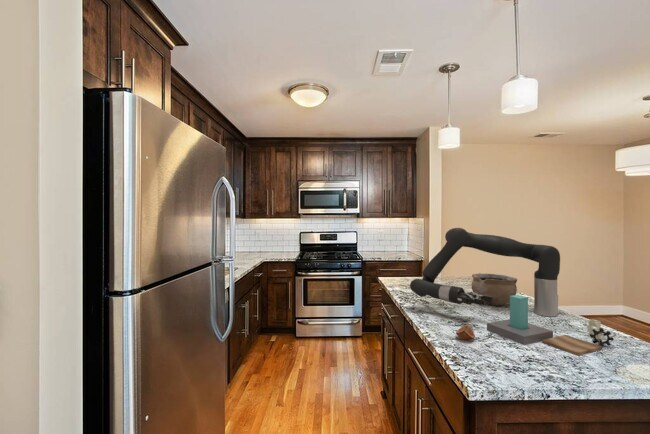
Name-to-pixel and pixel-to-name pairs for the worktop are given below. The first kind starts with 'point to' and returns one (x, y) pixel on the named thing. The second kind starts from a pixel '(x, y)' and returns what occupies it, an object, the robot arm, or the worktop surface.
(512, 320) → the plug
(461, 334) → the fruit slice
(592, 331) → the valve
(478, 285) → the ceramic bowl
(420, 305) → the worktop surface
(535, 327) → the grey square socket plate
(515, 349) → the worktop surface
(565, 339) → the board
